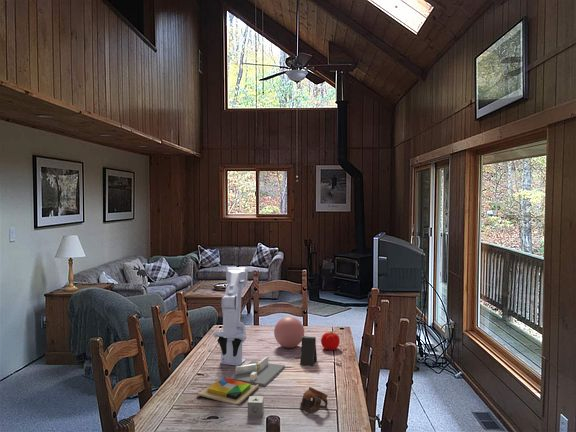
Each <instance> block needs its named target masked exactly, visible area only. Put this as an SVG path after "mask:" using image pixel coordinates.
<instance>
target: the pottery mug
mask: <svg viewBox="0 0 576 432" xmlns="http://www.w3.org/2000/svg"><path fill="white" fill-rule="evenodd" d="M327 398H328V395H327V394H326V393H324V392H322V391H320V390H318V389H315V388H313V387H311V386H309V387H308V389H307V390H305V392H304V393H303V396H302V398H301V401H300V406H299V409H300V410H302V411H303V412H305V413H307V414H311V411H312V412H313V413H317V412H318V411H319V410H320V406H321V404H322V401H323V403H324V408H327V407H328V399H327Z"/></svg>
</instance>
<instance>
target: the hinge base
mask: <svg viewBox="0 0 576 432" xmlns="http://www.w3.org/2000/svg"><path fill="white" fill-rule="evenodd" d="M249 364H256V367H257V366H259V369H256V372H252V373H245V374H239V375H236V374H233V375H232V376H230V377H229V378H230V379H233V380H236V381H241V382H245V383H249V384H251V385H254V386H256V385H257V384H258V385H259V386H260V387H266V386H267V385H268V384H269V383H270V382H272V380H273V379H274V378H276V377H277V376H278V375H279V374H280V372H283V370H284V369H285V365H284V364H278V363H277V364H276V363H270V362H269V356H267V355H266V356H265V357H264V358H262V359H260V361H255V360H251V361H250V362H249V363H248V364H247V365H249Z"/></svg>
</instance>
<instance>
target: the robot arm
mask: <svg viewBox="0 0 576 432" xmlns="http://www.w3.org/2000/svg"><path fill="white" fill-rule="evenodd" d="M248 270H249V269H248V268H247V267H246V266H245V267H241V266H240V267H238V266H237V267H231V266H230V267H229V266H228V267H226V271H225V278H226V284H227V286H226V287H225V292H224V296H222V297H221V301H220V302H221V303H220V304H221V305H220V306H221V310H222V311H221V312H222V313H221V314H222V331H214V332H213V338H218V339H217V340H216V341H217V343H218V344H219V345H218V346H220V362H219V364H223V365H230V366H231V365H232V366H234V367H236V366H241V365H243V363H244V362H246V358H243V343H245V341H246V340H247V335H246V334H247V333H246V326H245V324H244V323H243V322H242V321H241V311H242V295H243V294H242V293H243V289H244V288H245V287H246V286H247V284H248V277H249V276H248V273H249V271H248Z"/></svg>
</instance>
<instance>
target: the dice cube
mask: <svg viewBox="0 0 576 432" xmlns="http://www.w3.org/2000/svg"><path fill="white" fill-rule="evenodd" d="M264 400H265V398H264V396H261V395H259V396H258V395H257V396H255V395H249V396H248V400H247V417H250V416H256V417H255V418H260V417H261V418H262V417H263V414H264V408H265V406H264V404H265V403H264V402H265V401H264Z"/></svg>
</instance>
